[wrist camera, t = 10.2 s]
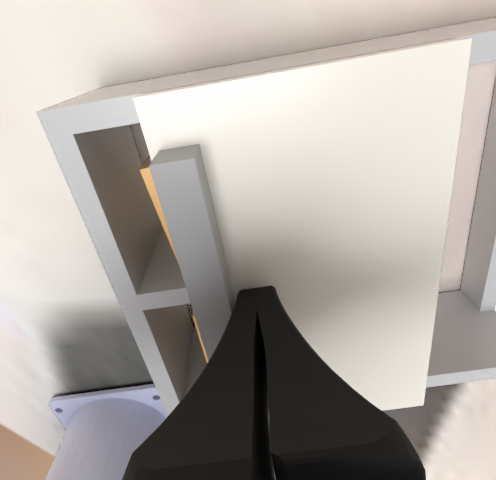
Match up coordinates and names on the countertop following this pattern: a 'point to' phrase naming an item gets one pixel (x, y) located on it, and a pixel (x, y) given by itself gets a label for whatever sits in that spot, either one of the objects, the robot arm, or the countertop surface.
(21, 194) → the countertop surface
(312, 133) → the lid
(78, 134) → the housing
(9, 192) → the countertop surface
